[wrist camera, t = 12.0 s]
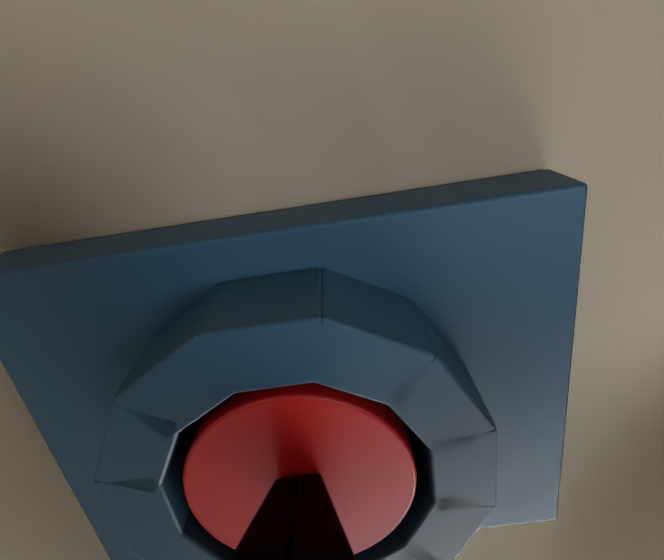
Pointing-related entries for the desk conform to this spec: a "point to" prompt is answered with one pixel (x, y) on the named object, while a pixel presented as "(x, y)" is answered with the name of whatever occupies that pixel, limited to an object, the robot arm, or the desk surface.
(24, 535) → the desk surface
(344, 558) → the robot arm
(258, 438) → the power button
